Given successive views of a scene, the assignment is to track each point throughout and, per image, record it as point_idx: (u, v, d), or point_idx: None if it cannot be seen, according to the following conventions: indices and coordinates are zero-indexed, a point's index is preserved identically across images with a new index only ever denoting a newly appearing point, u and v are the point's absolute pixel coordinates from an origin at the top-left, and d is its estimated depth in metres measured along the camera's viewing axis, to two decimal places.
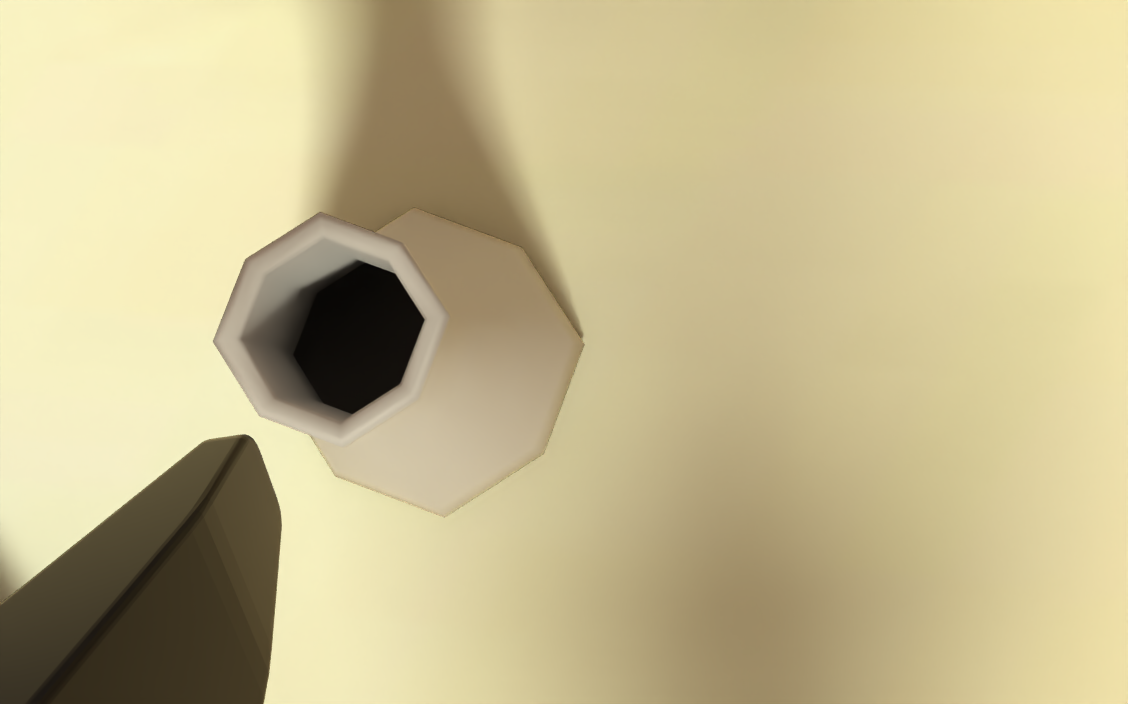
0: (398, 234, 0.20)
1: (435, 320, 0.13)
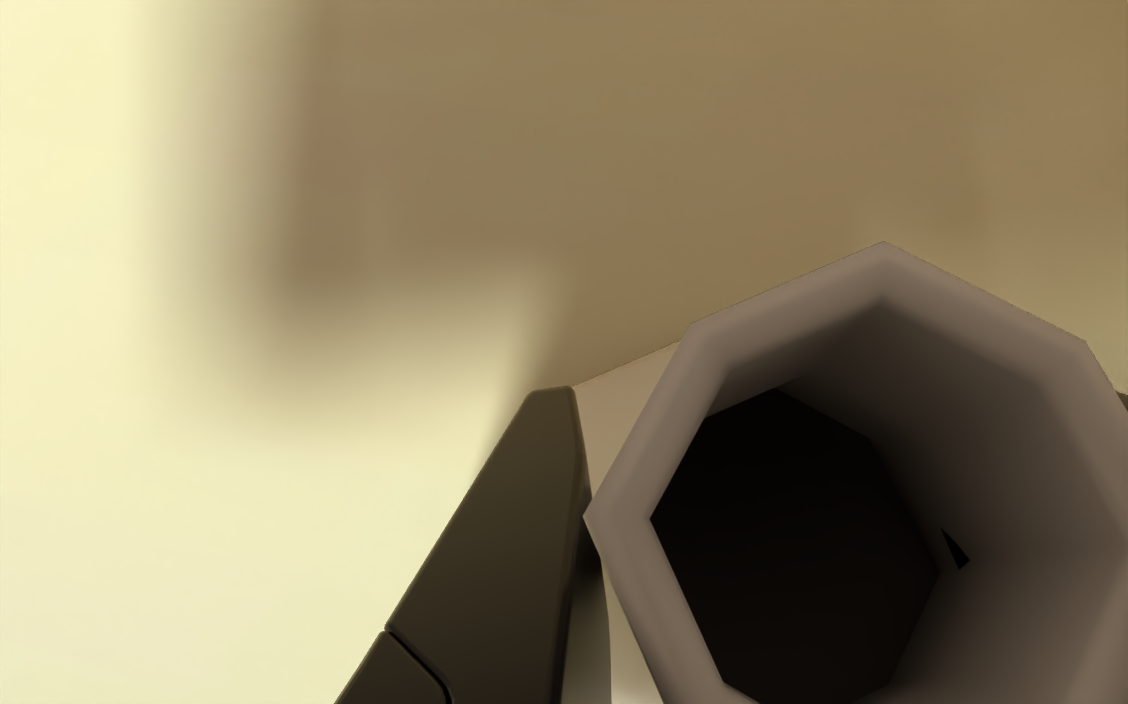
0: None
1: None
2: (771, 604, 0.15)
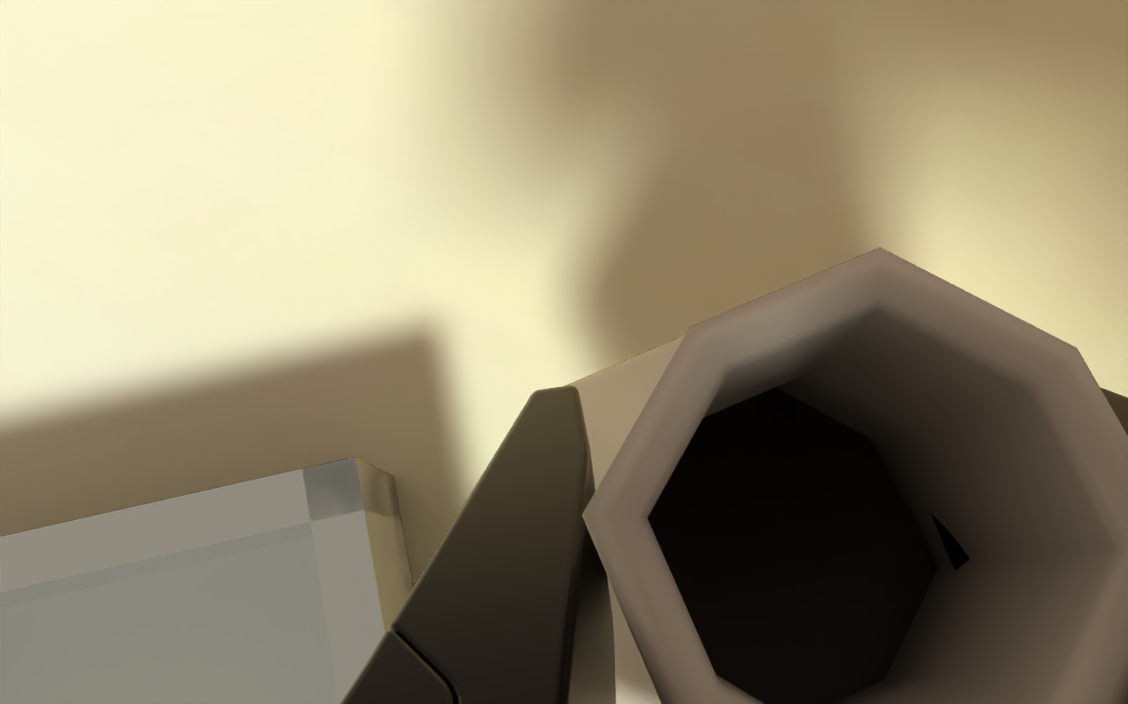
0: None
1: None
2: (771, 598, 0.15)
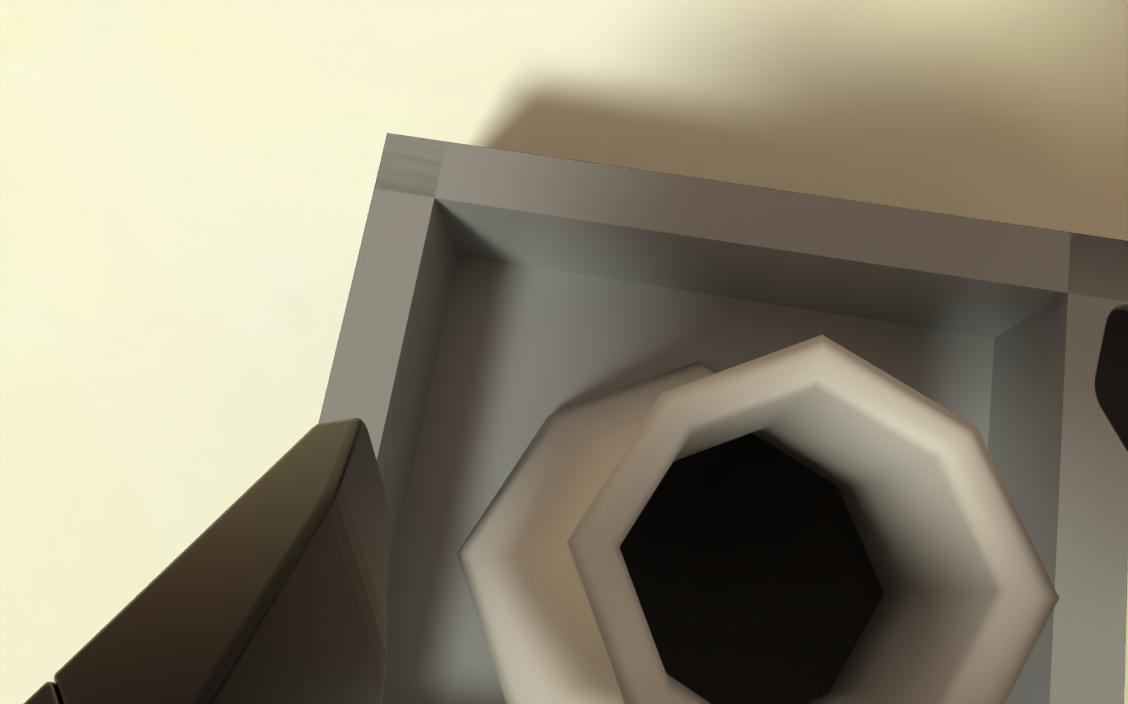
0: None
1: (1032, 601, 0.06)
2: (745, 616, 0.16)
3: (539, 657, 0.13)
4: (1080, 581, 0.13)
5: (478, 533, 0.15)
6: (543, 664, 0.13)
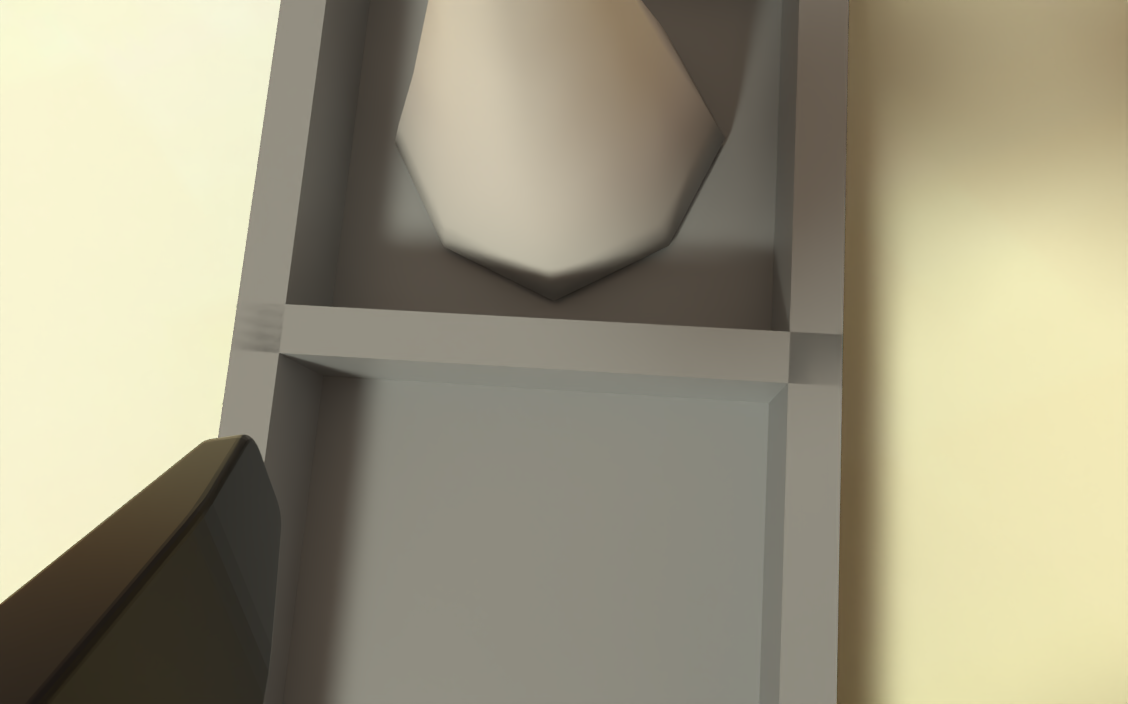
0: None
1: None
2: None
3: (439, 142, 0.19)
4: (815, 59, 0.19)
5: None
6: (441, 144, 0.19)
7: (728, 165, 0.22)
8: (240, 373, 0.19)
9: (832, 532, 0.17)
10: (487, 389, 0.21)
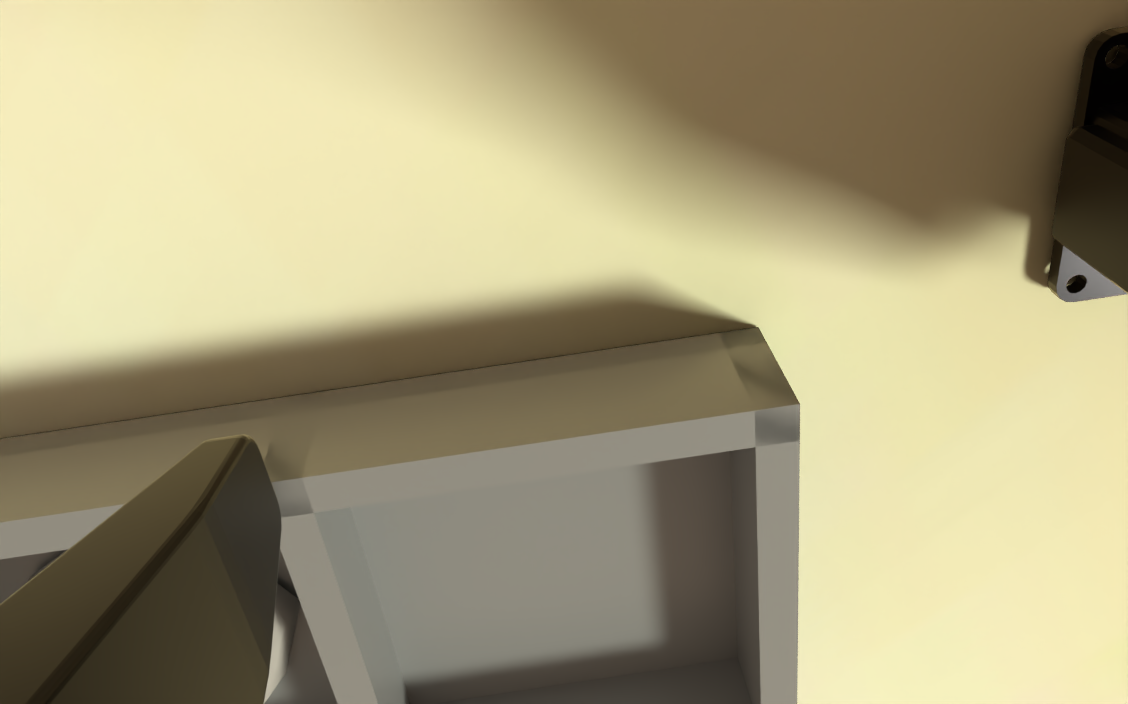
0: None
1: None
2: None
3: None
4: (9, 545, 0.21)
5: None
6: None
7: None
8: None
9: (427, 462, 0.21)
10: (387, 618, 0.26)
